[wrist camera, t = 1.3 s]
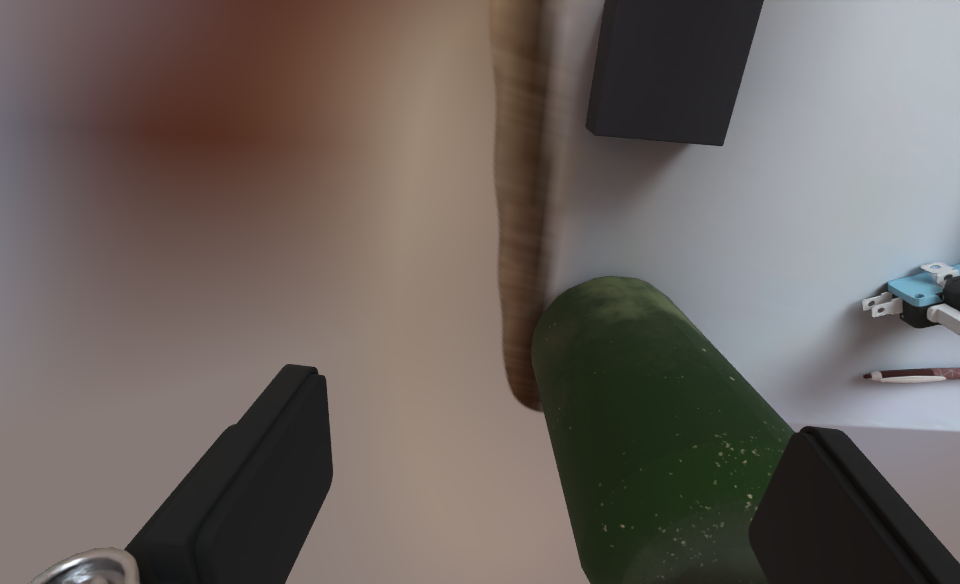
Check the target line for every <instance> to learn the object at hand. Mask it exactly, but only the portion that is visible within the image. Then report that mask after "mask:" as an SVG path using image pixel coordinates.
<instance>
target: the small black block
mask: <svg viewBox="0 0 960 584" xmlns="http://www.w3.org/2000/svg"><path fill="white" fill-rule="evenodd" d="M763 1H764V0H605V5H604V12H603V18H602V24H601V31H600V37H599V43H598V50H597V56H596V62H595V69H594V75H593V81H592V88H591V94H590V100H589V106H588V113H587V119H586V125H585V127H586V128H587V129H588V130H589V131H590V132H592V133H593V134H594V135H597V136H609V137H621V138H632V139H644V140H656V141H667V142H679V143H691V144H702V145H714V146H723V144H724V140H725V137H726V133H727V130H728V126H729V122H730V119H731V115H732V112H733V108H734V105H735V101H736V97H737V94H738V90H739V87H740V83H741V80H742V76H743V72H744V69H745V65H746V62H747V58H748V55H749V51H750V47H751V44H752V40H753V37H754V33H755V30H756V26H757V22H758V19H759V15H760V12H761V8H762V5H763Z"/></svg>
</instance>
